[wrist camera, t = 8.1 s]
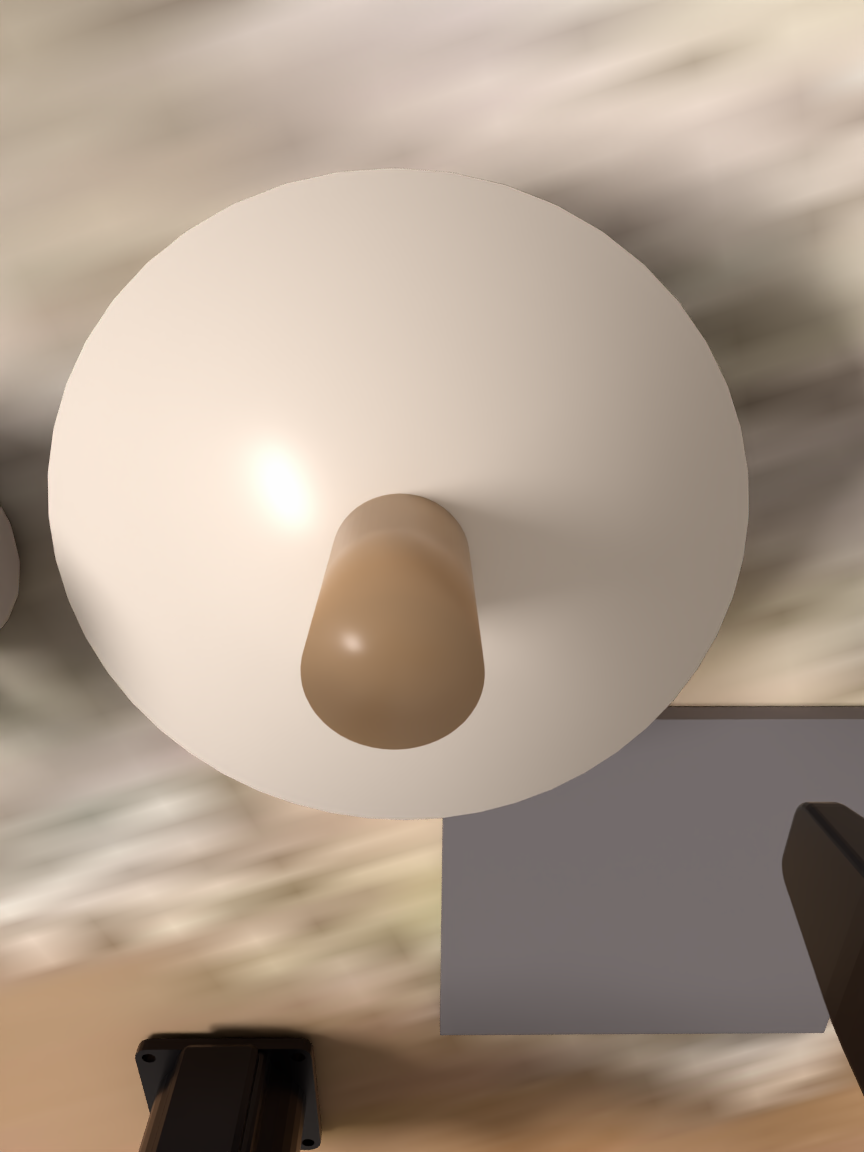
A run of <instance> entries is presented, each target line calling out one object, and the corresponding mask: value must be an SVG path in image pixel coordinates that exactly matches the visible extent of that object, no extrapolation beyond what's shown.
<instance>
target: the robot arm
mask: <svg viewBox="0 0 864 1152" xmlns="http://www.w3.org/2000/svg"><path fill="white" fill-rule="evenodd" d="M782 874H783V879H784V882H785V886H786V889H787V892H788V895H789V898H790V901H791V904H792V907H793V910H794V913H795V916H796V919H797V922H798V925H799V928H800V931H801V934H802V937H803V940H804V943H805V946H806V949H807V952H808V955H809V958H810V961H811V964H812V967H813V970H814V973H815V976H816V979H817V982H818V985H819V988H820V991H821V994H822V997H823V1000H824V1002H825V1005H826V1008H827V1011H828V1013H829V1016H830V1019H831V1022H832V1024H833V1027H834V1029H835V1032H836V1034H837V1036H838V1039H839V1041H840V1043H841V1046H842V1048H843V1051H844V1053H845V1055H846V1057H847V1060H848V1062H849V1064H850V1066H851V1069H852V1071H853V1073H854V1075H855V1077H856V1080H857V1082H858V1084H859V1086H860V1089H861V1091H862V1093H863V1095H864V817H862V816H861V815H859V814H858V813H856V812H855V811H853V810H852V809H850V808H849V807H847V806H845V805H844V804H841V803H838V802H805V803H802V804H800V805H799V806H798V807H797V809H796V811H795V813H794V817H793V820H792V824H791V827H790V831H789V835H788V838H787V842H786V845H785V849H784V852H783V857H782ZM135 1059H136V1063H137V1067H138V1070H139V1074H140V1078H141V1082H142V1085H143V1089H144V1093H145V1096H146V1100H147V1104H148V1108H149V1111H150V1116H149V1119H148V1123H147V1126H146V1129H145V1132H144V1136H143V1139H142V1142H141V1146H140V1149H139V1152H300V1150H311V1149H315V1148H318V1147H319V1146H320V1143H321V1135H322V1128H321V1118H320V1109H319V1099H318V1089H317V1080H316V1070H315V1060H314V1050H313V1045H312V1043H311V1042H310V1041H308V1040H306V1039H302V1038H235V1039H147V1040H144V1041H141V1043H140V1044H139V1046H138V1049H137V1052H136V1055H135Z"/></svg>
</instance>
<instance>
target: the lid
mask: <svg viewBox="0 0 864 1152" xmlns="http://www.w3.org/2000/svg"><path fill="white" fill-rule="evenodd" d="M48 509H49V522H50V528H51V534H52V540H53V547H54V553H55V559H56V562H57V565H58V569H59V572H60V575H61V578H62V582H63V585H64V588H65V591H66V595H67V598H68V600H69V603H70V605H71V607H72V609H73V611H74V613H75V616H76V618H77V620H78V622H79V624H80V627H81V629H82V631H83V633H84V635H85V637H86V639H87V640H88V642H89V644H90V645H91V647H92V648H93V650H94V652H95V653H96V655H97V656H98V658H99V660H100V661H101V663H102V664H103V666H104V668H105V669H106V671H107V672H108V673H109V675H110V676H111V677H112V678H113V680H114V681H115V682H116V683H117V685H118V686H119V687H120V688H121V690H122V691H123V692H124V693H125V694H126V696H127V697H128V698H129V699H130V701H131V702H132V703H133V704H134V705H135V706H136V707H137V708H138V709H139V710H140V711H141V712H142V713H143V714H144V715H145V716H146V717H147V718H148V719H149V720H150V721H151V722H152V723H153V724H154V725H156V726H157V727H158V728H159V729H160V730H161V731H162V732H163V733H165V734H166V735H167V736H169V737H170V738H171V739H172V740H174V741H175V742H176V743H177V744H179V745H180V746H181V747H183V748H184V749H185V750H186V751H188V752H189V753H190V754H192V755H193V756H195V757H197V758H198V759H200V760H201V761H203V762H205V763H206V764H208V765H210V766H211V767H213V768H214V769H216V770H218V771H219V772H221V773H222V774H224V775H226V776H228V777H231V778H233V779H235V780H237V781H239V782H241V783H243V784H245V785H247V786H249V787H251V788H253V789H255V790H257V791H260V792H263V793H266V794H268V795H271V796H274V797H277V798H279V799H282V800H285V801H288V802H291V803H293V804H297V805H301V806H305V807H309V808H313V809H317V810H321V811H325V812H329V813H335V814H342V815H349V816H356V817H362V818H373V819H395V820H414V819H433V818H446V817H452V816H459V815H465V814H472V813H478V812H483V811H486V810H490V809H494V808H498V807H502V806H506V805H509V804H513V803H517V802H519V801H522V800H525V799H527V798H530V797H533V796H535V795H538V794H541V793H543V792H546V791H549V790H551V789H553V788H555V787H557V786H559V785H561V784H563V783H565V782H567V781H569V780H571V779H573V778H575V777H577V776H579V775H581V774H583V773H585V772H587V771H588V770H590V769H592V768H593V767H595V766H596V765H598V764H599V763H601V762H602V761H604V760H606V759H607V758H609V757H610V756H612V755H613V754H615V753H616V752H618V751H619V750H620V749H621V748H623V747H624V746H625V745H626V744H628V743H629V742H630V741H631V740H632V739H634V738H635V737H636V736H637V735H639V734H640V733H641V732H642V731H644V730H645V729H646V728H647V727H648V726H649V725H650V724H651V723H652V722H653V721H654V720H655V719H656V718H657V717H658V716H659V715H660V714H661V713H662V712H663V711H664V710H665V709H666V708H667V707H668V705H669V704H670V703H671V702H672V701H673V700H674V699H675V698H676V696H677V695H678V694H679V692H680V691H681V690H682V689H683V687H684V686H685V685H686V683H687V682H688V681H689V679H690V678H691V677H692V675H693V674H694V673H695V672H696V670H697V669H698V667H699V665H700V664H701V662H702V660H703V658H704V657H705V655H706V653H707V652H708V650H709V648H710V646H711V645H712V643H713V641H714V640H715V638H716V636H717V634H718V632H719V629H720V627H721V625H722V622H723V620H724V618H725V615H726V613H727V610H728V608H729V606H730V603H731V601H732V599H733V595H734V592H735V588H736V584H737V581H738V577H739V573H740V570H741V566H742V562H743V559H744V551H745V543H746V535H747V528H748V520H749V484H748V468H747V462H746V455H745V449H744V443H743V436H742V430H741V427H740V423H739V420H738V417H737V414H736V411H735V407H734V404H733V401H732V398H731V395H730V391H729V388H728V385H727V383H726V381H725V379H724V377H723V375H722V373H721V371H720V369H719V367H718V365H717V363H716V360H715V358H714V356H713V354H712V352H711V350H710V348H709V346H708V344H707V342H706V341H705V339H704V338H703V336H702V335H701V333H700V332H699V330H698V329H697V328H696V326H695V325H694V323H693V322H692V320H691V319H690V317H689V316H688V314H687V313H686V312H685V310H684V309H683V307H682V306H681V304H680V303H679V301H678V300H677V299H676V298H675V297H674V296H673V295H672V294H671V293H670V292H669V291H668V290H667V289H666V288H665V286H664V285H663V284H662V283H661V282H660V281H659V280H658V279H657V278H656V277H655V276H654V275H653V274H652V273H651V271H650V270H649V269H648V268H647V267H646V266H645V265H644V264H643V263H642V262H640V261H639V260H638V259H636V258H635V257H634V256H633V255H631V254H630V253H629V252H628V251H626V250H625V249H624V248H623V247H621V246H620V245H619V244H618V243H616V242H615V241H614V240H613V239H611V238H610V237H609V236H607V235H606V234H605V233H604V232H602V231H601V230H599V229H597V228H595V227H594V226H592V225H590V224H588V223H587V222H585V221H583V220H581V219H580V218H578V217H576V216H575V215H573V214H571V213H569V212H568V211H566V210H564V209H562V208H561V207H559V206H557V205H555V204H553V203H550V202H547V201H545V200H542V199H540V198H537V197H535V196H532V195H530V194H527V193H525V192H522V191H519V190H517V189H514V188H512V187H509V186H507V185H504V184H499V183H495V182H491V181H486V180H482V179H478V178H473V177H469V176H465V175H460V174H456V173H451V172H441V171H428V170H415V169H402V168H386V169H372V170H358V171H344V172H336V173H331V174H327V175H322V176H318V177H313V178H309V179H304V180H300V181H295V182H291V183H287V184H283V185H281V186H278V187H275V188H273V189H270V190H268V191H265V192H263V193H260V194H257V195H255V196H252V197H250V198H247V199H245V200H242V201H239V202H237V203H234V204H232V205H231V206H229V207H227V208H225V209H224V210H222V211H220V212H218V213H217V214H215V215H213V216H212V217H210V218H208V219H206V220H205V221H203V222H201V223H199V224H198V225H196V226H194V227H192V228H191V229H189V230H187V231H186V232H185V233H184V234H182V235H181V236H180V237H179V238H177V239H176V240H175V241H174V242H172V243H171V244H170V245H169V246H167V247H166V248H165V249H164V250H162V251H161V252H160V253H159V254H157V255H156V256H155V257H154V258H152V259H151V260H150V261H149V262H147V263H146V264H145V266H144V267H143V268H142V269H141V270H140V271H139V272H138V273H137V274H136V275H135V277H134V278H133V279H132V280H131V281H130V282H129V283H128V284H127V285H126V286H125V288H124V289H123V290H122V291H121V292H120V293H119V294H118V295H117V296H116V297H115V299H114V300H113V301H112V302H111V304H110V305H109V307H108V308H107V310H106V311H105V313H104V314H103V316H102V317H101V319H100V320H99V322H98V324H97V325H96V327H95V328H94V330H93V331H92V333H91V334H90V336H89V337H88V339H87V340H86V342H85V344H84V346H83V348H82V351H81V353H80V355H79V357H78V359H77V362H76V364H75V366H74V368H73V370H72V372H71V375H70V377H69V379H68V381H67V383H66V386H65V390H64V393H63V397H62V400H61V404H60V407H59V411H58V414H57V418H56V421H55V425H54V429H53V436H52V444H51V452H50V460H49V468H48Z"/></svg>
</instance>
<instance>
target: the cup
mask: <svg viewBox="0 0 864 1152" xmlns="http://www.w3.org/2000/svg"><path fill="white" fill-rule="evenodd" d="M19 573H20V560H19V556H18V552H17V548H16V544H15V540H14V536H13V532H12V528H11V524H10V522H9V520H8V519H7V517H6V515H5V513H4V511H3V509H2V507H1V506H0V629H1V628H2V627H3V625H4V624H5V623H6V622H7V621H8V618H9V616H10V613H11V611H12V609H13V606H14V604H15V601H16V599H17V596H18V594H19Z"/></svg>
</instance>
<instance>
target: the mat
mask: <svg viewBox="0 0 864 1152" xmlns="http://www.w3.org/2000/svg"><path fill="white" fill-rule="evenodd" d="M805 802H838V803H841V804H844V805H845V806H847V807H849V808H850V809H852V810H853V811H855V812H856V813H858V814H859V815H861V816H862V817H864V707H667V708H666V709H665V710H664V711H663V712H662V713H661V714H660V715H659V716H658V717H657V718H656V719H655V720H654V721H653V722H652V723H651V724H650V725H649V726H648V727H647V728H646V729H645V730H644V731H642V732H641V733H640V734H639V735H637V736H636V737H635V738H634V739H632V740H631V741H630V742H629V743H628V744H626V745H625V746H624V747H623V748H621V749H620V750H619V751H618V752H616V753H615V754H613V755H612V756H610V757H609V758H607V759H606V760H604V761H602V762H601V763H599V764H598V765H596V766H595V767H593V768H592V769H590V770H588V771H587V772H585V773H583V774H581V775H579V776H577V777H575V778H573V779H571V780H569V781H567V782H565V783H563V784H561V785H559V786H557V787H555V788H553V789H551V790H549V791H546V792H543V793H541V794H538V795H535V796H533V797H530V798H527V799H525V800H522V801H519V802H517V803H513V804H509V805H506V806H502V807H498V808H494V809H490V810H486V811H483V812H478V813H472V814H465V815H459V816H452V817H446V818H443V839H442V912H441V986H440V1035H540V1034H711V1033H824V1031H825V1028H826V1025H827V1023H828V1020H829V1017H830V1016H829V1013H828V1011H827V1008H826V1005H825V1002H824V1000H823V997H822V994H821V991H820V988H819V985H818V982H817V979H816V976H815V973H814V970H813V967H812V964H811V961H810V958H809V955H808V952H807V949H806V946H805V943H804V940H803V937H802V934H801V931H800V928H799V925H798V922H797V919H796V916H795V913H794V910H793V907H792V904H791V901H790V898H789V895H788V892H787V889H786V886H785V882H784V879H783V874H782V857H783V852H784V849H785V845H786V842H787V838H788V835H789V831H790V827H791V824H792V820H793V817H794V813H795V811H796V809H797V807H798V806H799V805H800V804H802V803H805Z"/></svg>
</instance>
